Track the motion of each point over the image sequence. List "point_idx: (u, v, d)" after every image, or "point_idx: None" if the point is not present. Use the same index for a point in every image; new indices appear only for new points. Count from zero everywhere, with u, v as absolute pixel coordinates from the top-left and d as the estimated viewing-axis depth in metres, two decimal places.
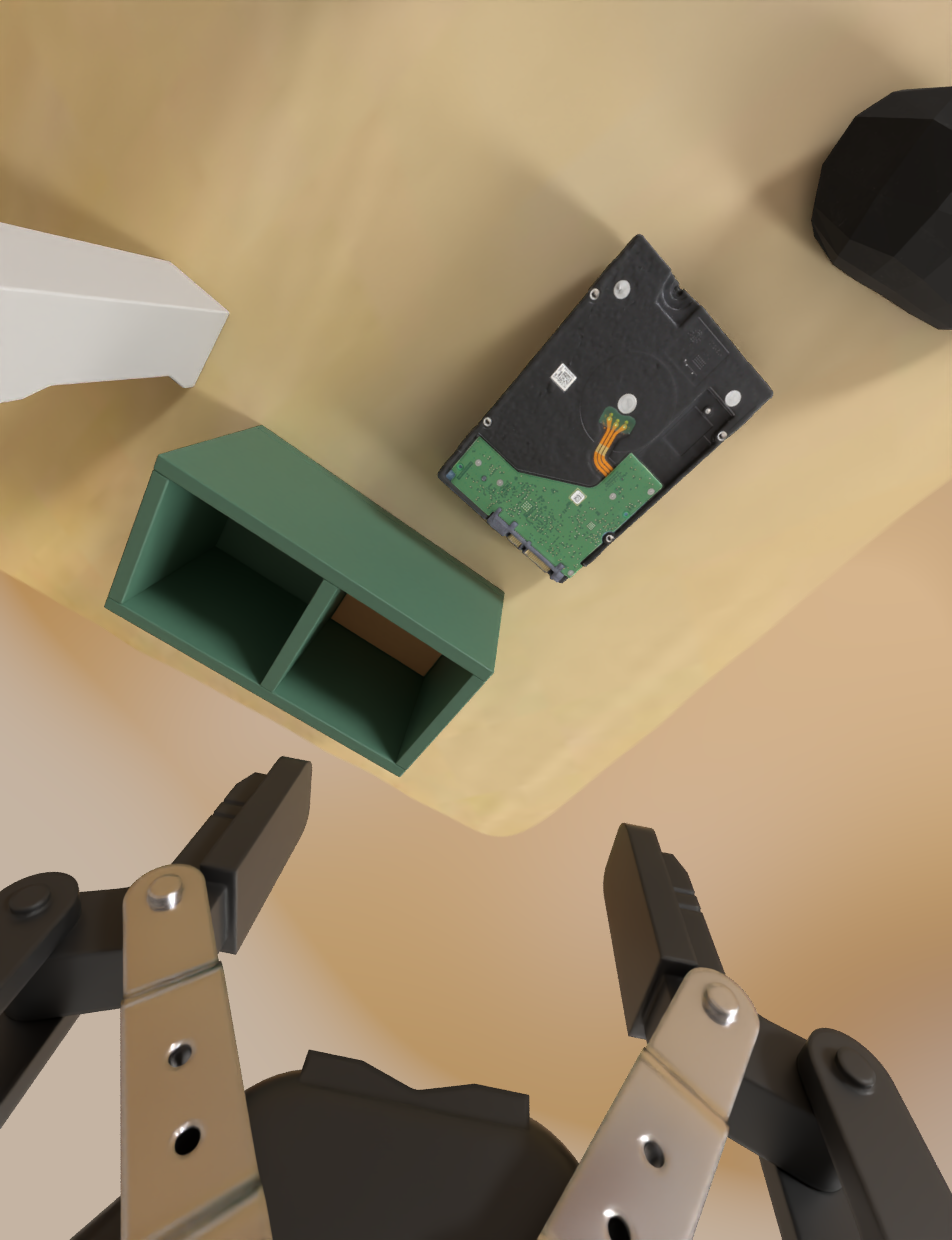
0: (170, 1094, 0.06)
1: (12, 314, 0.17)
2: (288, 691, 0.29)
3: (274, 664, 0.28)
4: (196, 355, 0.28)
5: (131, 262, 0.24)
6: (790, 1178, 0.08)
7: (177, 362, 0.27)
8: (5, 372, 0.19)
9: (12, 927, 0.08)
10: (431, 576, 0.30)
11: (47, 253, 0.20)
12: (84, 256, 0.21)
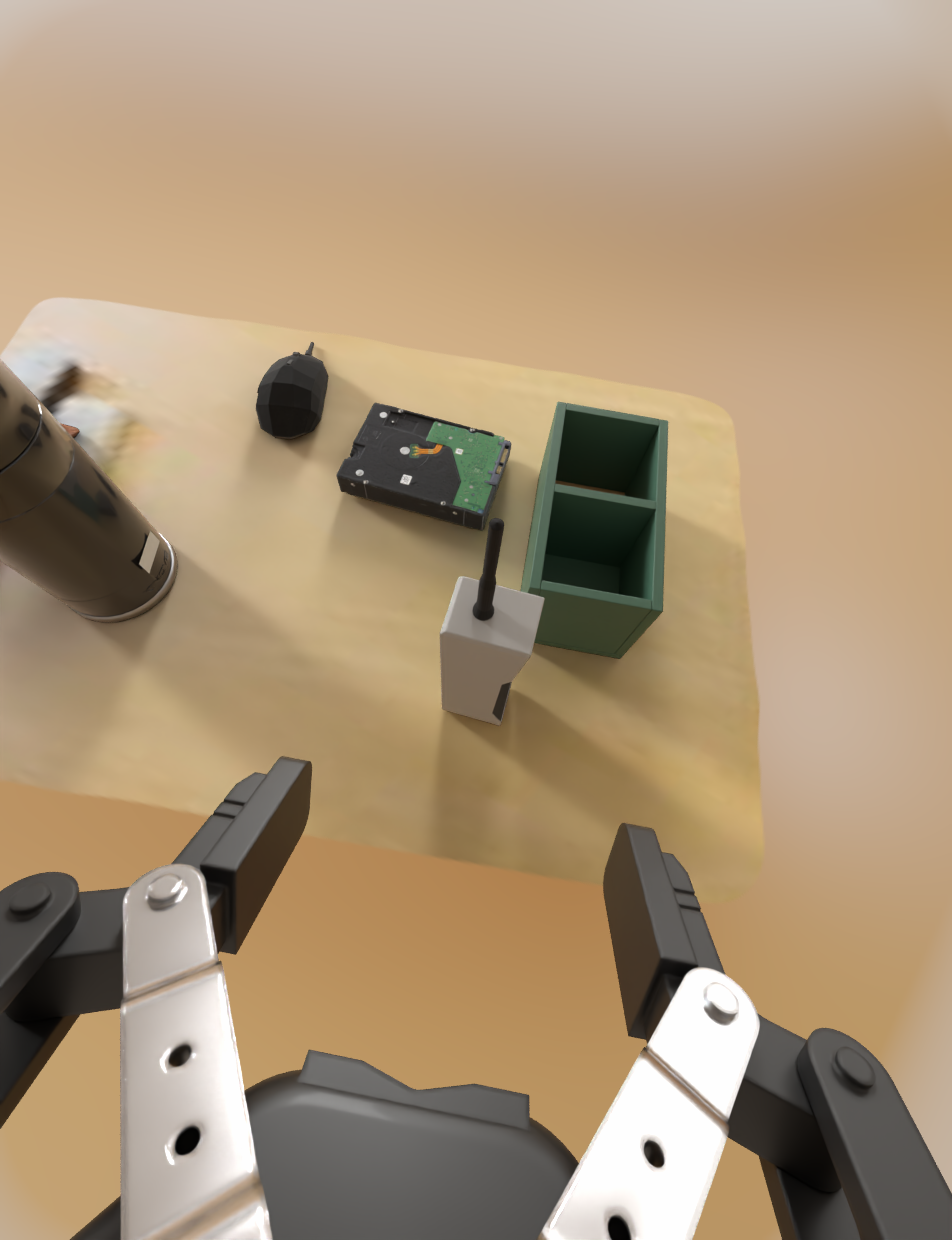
0: (170, 1094, 0.06)
1: None
2: (653, 500, 0.41)
3: (632, 504, 0.40)
4: None
5: None
6: (789, 1178, 0.08)
7: None
8: None
9: (12, 927, 0.08)
10: None
11: None
12: None
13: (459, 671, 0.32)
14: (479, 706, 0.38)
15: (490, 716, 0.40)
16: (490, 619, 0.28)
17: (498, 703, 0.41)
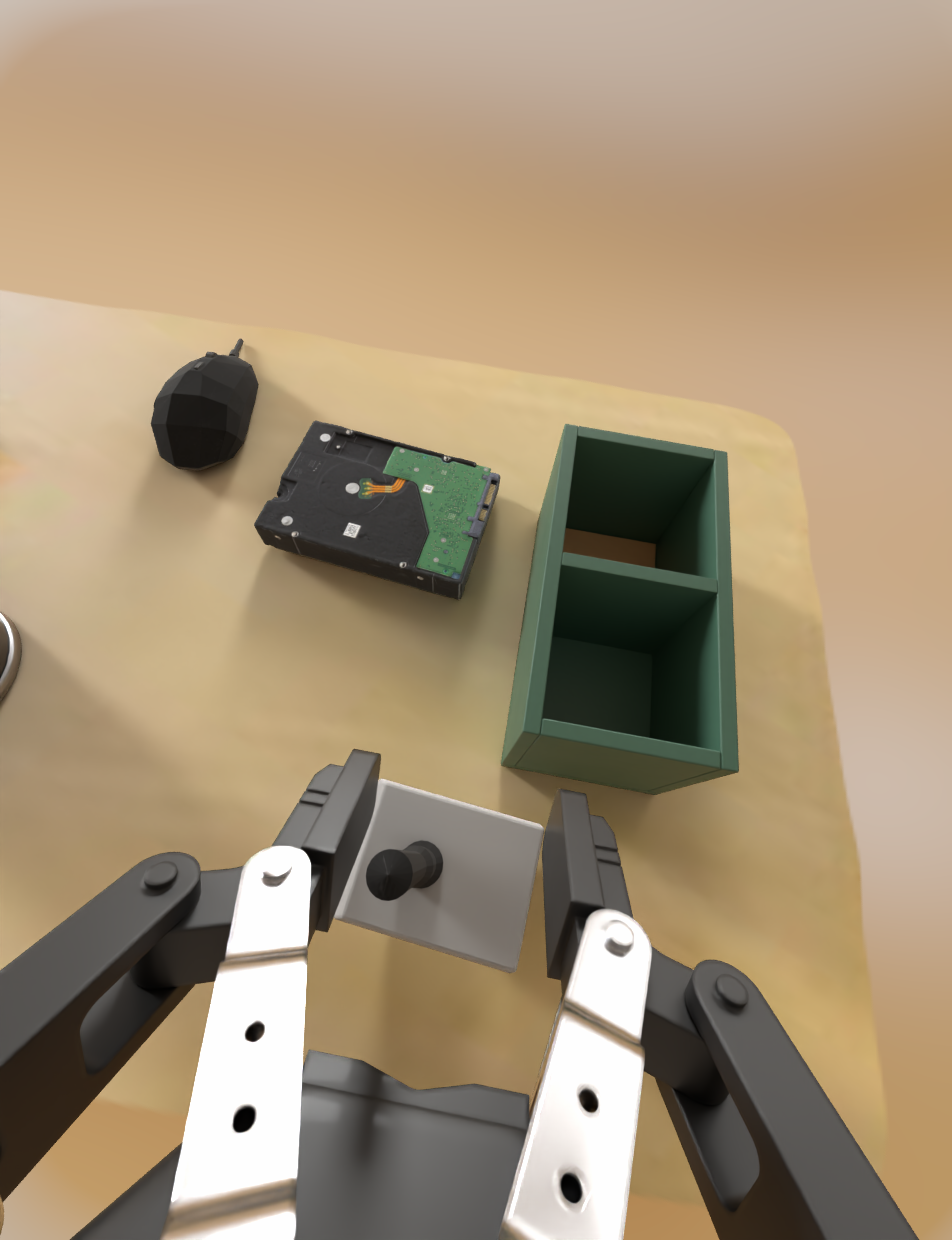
0: (239, 1067, 0.06)
1: None
2: (710, 574, 0.27)
3: (681, 584, 0.26)
4: None
5: None
6: (688, 1104, 0.09)
7: None
8: None
9: (142, 899, 0.09)
10: (539, 543, 0.33)
11: None
12: None
13: None
14: None
15: None
16: (434, 884, 0.14)
17: None
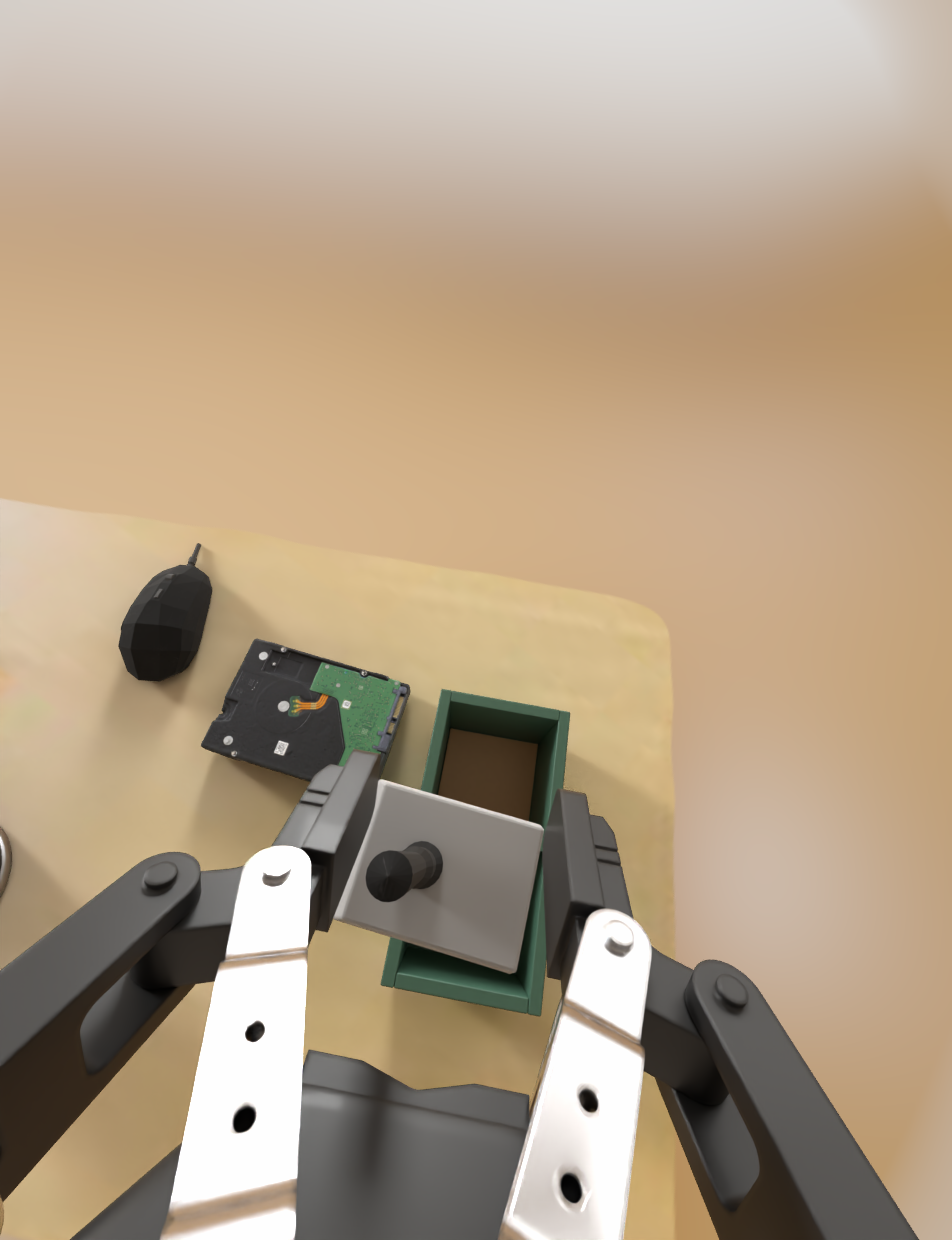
0: (239, 1067, 0.06)
1: None
2: (545, 828, 0.35)
3: None
4: None
5: None
6: (688, 1104, 0.09)
7: None
8: None
9: (141, 898, 0.09)
10: None
11: None
12: None
13: None
14: None
15: None
16: (434, 885, 0.14)
17: None
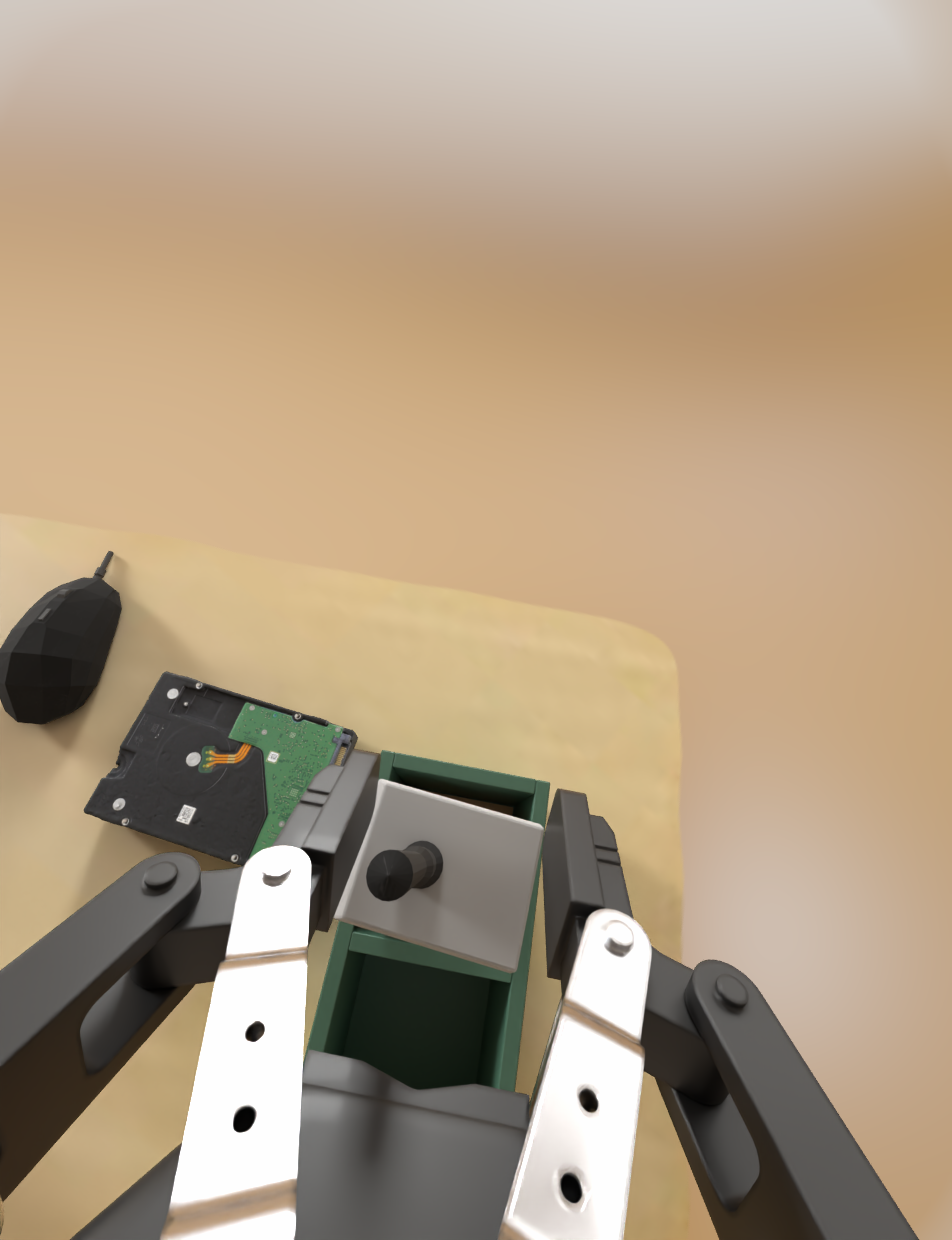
0: (239, 1067, 0.06)
1: None
2: None
3: (473, 973, 0.25)
4: None
5: None
6: (688, 1104, 0.09)
7: None
8: None
9: (142, 899, 0.09)
10: None
11: None
12: None
13: None
14: None
15: None
16: (434, 884, 0.14)
17: None
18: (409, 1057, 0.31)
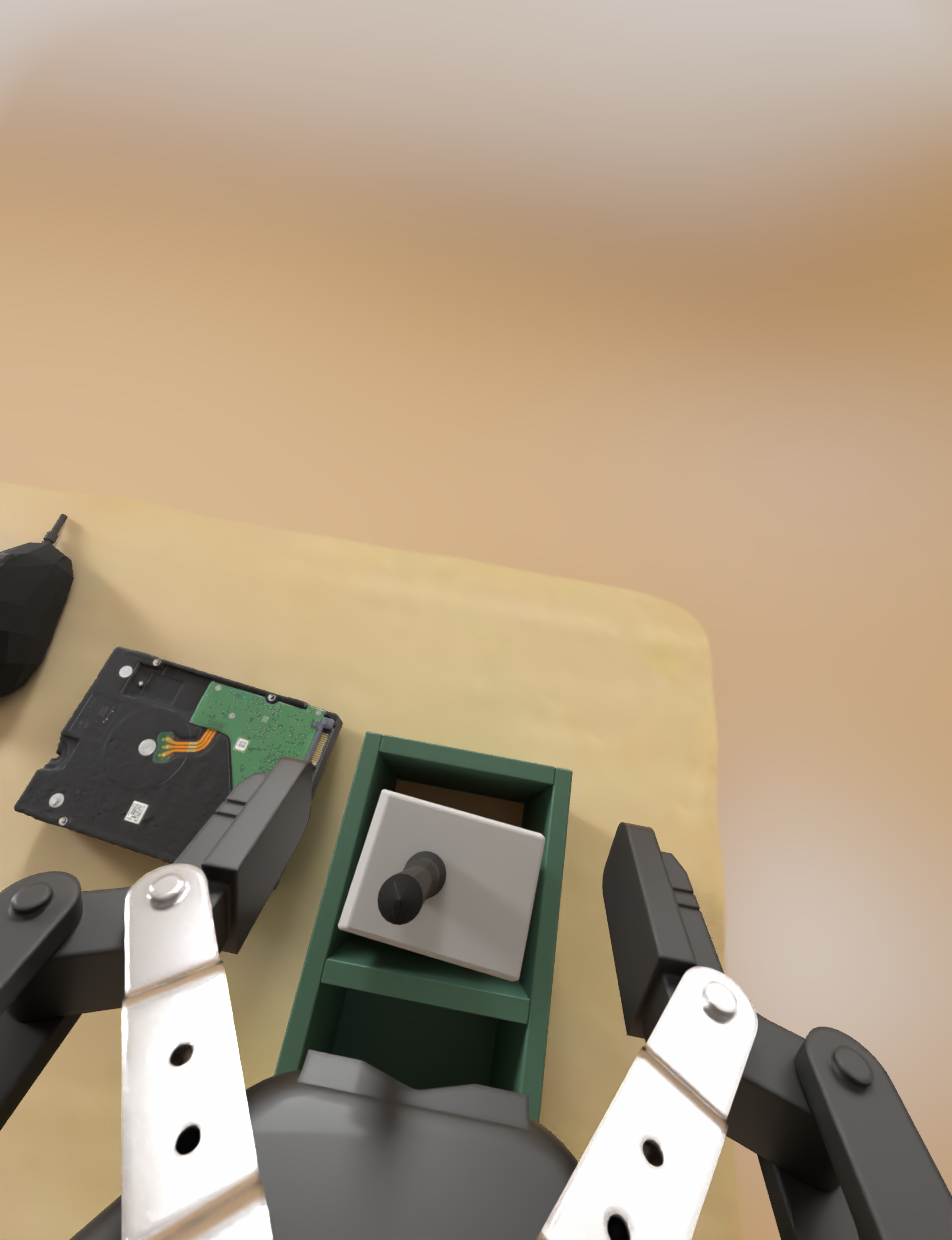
0: (171, 1093, 0.06)
1: None
2: (529, 975, 0.21)
3: (480, 1011, 0.19)
4: None
5: None
6: (788, 1176, 0.08)
7: None
8: None
9: (14, 926, 0.08)
10: None
11: None
12: None
13: None
14: None
15: None
16: (438, 895, 0.14)
17: None
18: None
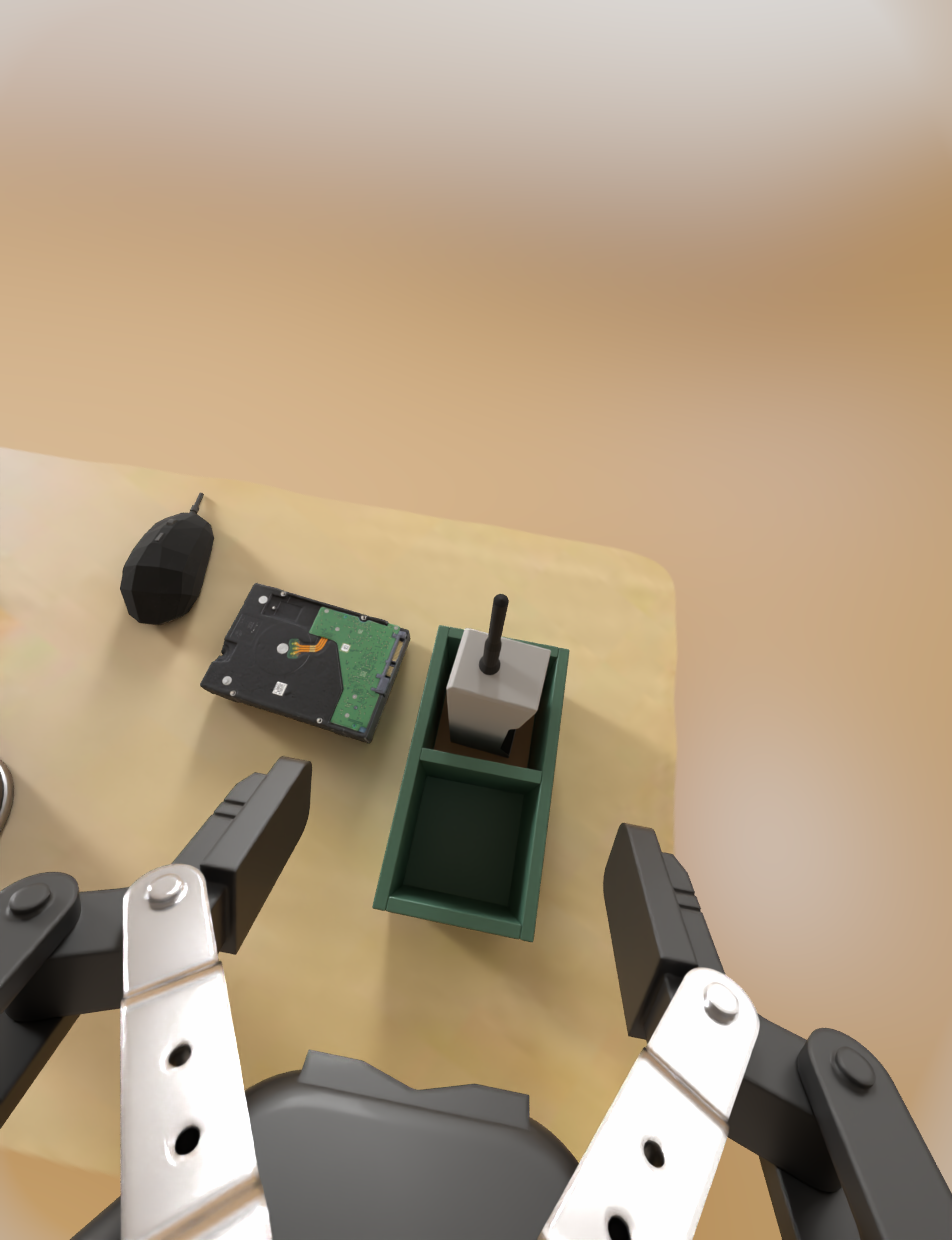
0: (170, 1094, 0.06)
1: None
2: (542, 762, 0.34)
3: (513, 776, 0.33)
4: None
5: None
6: (790, 1178, 0.08)
7: None
8: None
9: (12, 927, 0.08)
10: None
11: None
12: None
13: (466, 716, 0.32)
14: (487, 743, 0.38)
15: (498, 751, 0.40)
16: (496, 673, 0.28)
17: (506, 737, 0.41)
18: (458, 868, 0.39)
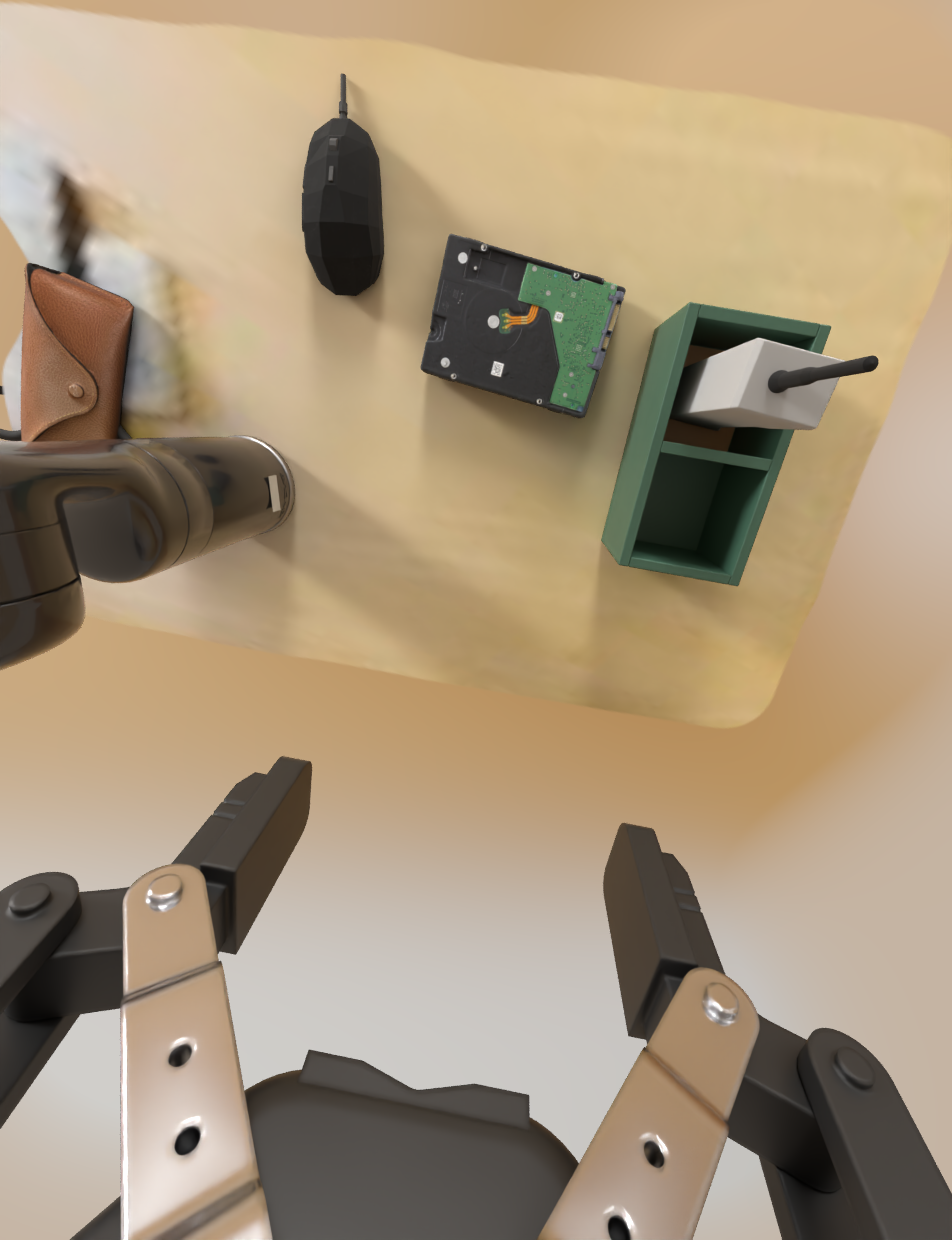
0: (170, 1094, 0.06)
1: None
2: (771, 450, 0.38)
3: (744, 465, 0.38)
4: None
5: (677, 402, 0.41)
6: (790, 1177, 0.08)
7: None
8: None
9: (12, 927, 0.08)
10: (650, 388, 0.41)
11: (702, 389, 0.35)
12: (691, 396, 0.38)
13: (718, 416, 0.35)
14: (709, 424, 0.41)
15: (713, 427, 0.43)
16: (784, 391, 0.29)
17: None
18: (658, 524, 0.48)
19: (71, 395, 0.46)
